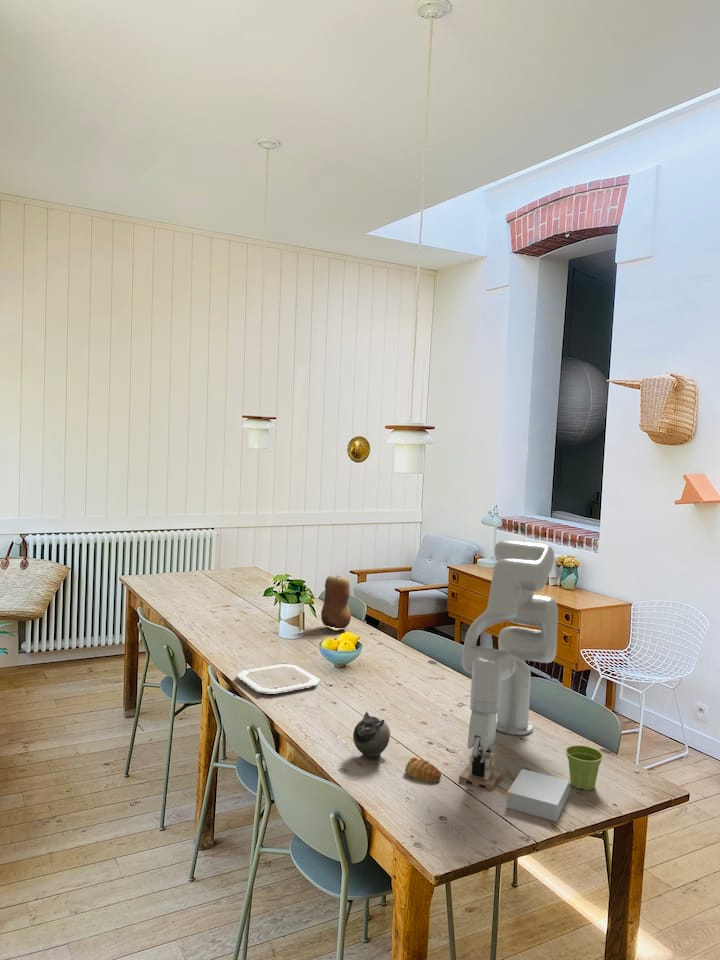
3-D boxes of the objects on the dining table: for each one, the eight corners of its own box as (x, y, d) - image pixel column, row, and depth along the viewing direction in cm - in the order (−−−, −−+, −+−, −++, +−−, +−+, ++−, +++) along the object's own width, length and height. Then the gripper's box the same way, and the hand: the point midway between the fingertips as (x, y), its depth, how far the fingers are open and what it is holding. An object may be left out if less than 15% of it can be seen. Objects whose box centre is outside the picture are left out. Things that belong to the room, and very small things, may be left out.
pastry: (445, 777, 188) (446, 763, 187) (433, 787, 182) (433, 773, 182) (415, 766, 193) (415, 753, 193) (402, 776, 188) (402, 761, 187)
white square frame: (325, 688, 250) (325, 682, 250) (262, 700, 236) (262, 694, 236) (291, 667, 271) (291, 662, 271) (231, 678, 257) (231, 672, 257)
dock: (521, 783, 185) (522, 768, 185) (568, 796, 180) (569, 780, 180) (506, 807, 173) (507, 791, 173) (556, 821, 167) (557, 805, 167)
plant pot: (580, 796, 180) (582, 763, 179) (556, 779, 188) (558, 747, 188) (609, 790, 184) (611, 758, 183) (584, 774, 192) (586, 743, 192)
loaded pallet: (470, 767, 193) (471, 744, 193) (502, 776, 189) (503, 752, 189) (458, 781, 185) (460, 757, 185) (492, 790, 181) (493, 766, 181)
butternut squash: (353, 627, 330) (356, 574, 328) (345, 635, 317) (347, 579, 315) (325, 624, 334) (327, 571, 332) (316, 631, 321) (318, 576, 319)
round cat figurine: (345, 761, 194) (379, 770, 189) (346, 718, 194) (380, 726, 189) (363, 748, 203) (396, 756, 198) (364, 706, 203) (396, 714, 198)
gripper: (480, 691, 195) (477, 756, 196) (460, 711, 180) (456, 781, 181) (507, 697, 192) (504, 762, 193) (489, 718, 177) (485, 789, 178)
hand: (481, 770), depth 187 cm, fingers closed on loaded pallet, 5 cm apart
